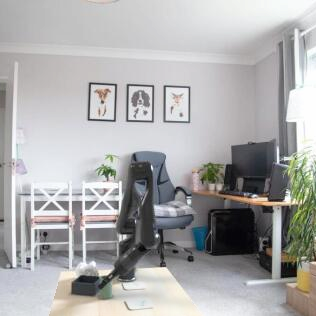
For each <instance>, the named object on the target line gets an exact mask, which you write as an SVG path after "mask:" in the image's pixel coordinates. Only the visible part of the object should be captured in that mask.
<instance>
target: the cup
mask: <svg viewBox="0 0 316 316" xmlns="http://www.w3.org/2000/svg"><path fill="white" fill-rule="evenodd" d="M107 275H108V274H107ZM107 275H99V276H100V277H99V284H100V283H102V280H104V279H105V278H106V276H107ZM105 281H106V280H105ZM106 282H107V281H106ZM112 297H113V281H112V282H109V283H108V284H107V285H106V286H105V287H103V288H102V289H101V290H100V289H99V292H98V298H99V299H102V300H109V299H111V298H112Z"/></svg>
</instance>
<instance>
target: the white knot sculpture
mask: <svg viewBox="0 0 316 316" xmlns="http://www.w3.org/2000/svg"><path fill="white" fill-rule="evenodd" d="M96 266H97V263H96V262H95V261H93V260H92V261H90V262H89V263H88V264H87V262H84V261H81V262H79V263H78V264H77V266H76V268H75V274H76V278H78V277H79V276H80V275H90V276H100V273H99V271H98V269H97V267H96Z"/></svg>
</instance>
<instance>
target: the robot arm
mask: <svg viewBox="0 0 316 316" xmlns="http://www.w3.org/2000/svg"><path fill="white" fill-rule="evenodd" d="M137 182H145V188H144V189H145V190H144V193H143V195H142V194H141V192H140V191H139V188H138V187H137V186H136V183H137ZM124 187H125V188H124V191H123V195H122V199H121V206H120V210H119V213H118V217H117V219H116V224H115V231H116V234H118V235H119V236H125V235H126V236H127V237H126V238H124V239H122V240H119V242H118V252H117V253H118V256H117V257H118V258H117V260H116V261H115V262H114V264H113V268H114V269H112V270H111V271H110V273H108V274H107V276H106V278H105V279H104V280H102V283H100V284H99V285H98V288H99V289H100V290H101V289H102V288H103V287H105V286H106V285H107V284H108V283H109V282H112V283H113V282H114V281H115V280H116V279H117V280H118V281H119V282H126V283H128V282H129V283H130V282H133V281H135V280H136V270H137V267H136V266H137V265H138V263H139V262H141V261H142V259H144V258H145V257H146V256H147V255H148V254H149V253H150V252H152V251H153V250H154V249H156V247H157V246H159V244H160V243H161V235H160V234H159V233H158V232H157V231H156V230H155V225H156V223H157V219H156V212H155V211H156V210H155V203H154V193H155V192H154V191H155V190H154V189H155V188H154V168H153V165H152V162H151V161H149V160H141V161H140V160H138V161H132V162H130V163H129V164H128V167H127V173H126V182H125V186H124ZM137 211H138V213H139V214H138V215H139V221H140V231H139V238H140V241H138V242H137V230H138V223H137V219H136V217H133V215H134V214H135V213H136V212H137ZM131 216H132V217H131ZM105 280H106V281H107V282H106V281H105Z"/></svg>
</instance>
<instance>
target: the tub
mask: <svg viewBox="0 0 316 316" xmlns="http://www.w3.org/2000/svg"><path fill="white" fill-rule="evenodd" d="M100 276H101V275H99V276H90V275H80V276H79V277H76V278H75V279H73V281H71V286H70V295H74V296H75V295H76V296H86V297H95V296H96V295H97V294H99V288H98V285H99V277H100Z"/></svg>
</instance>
